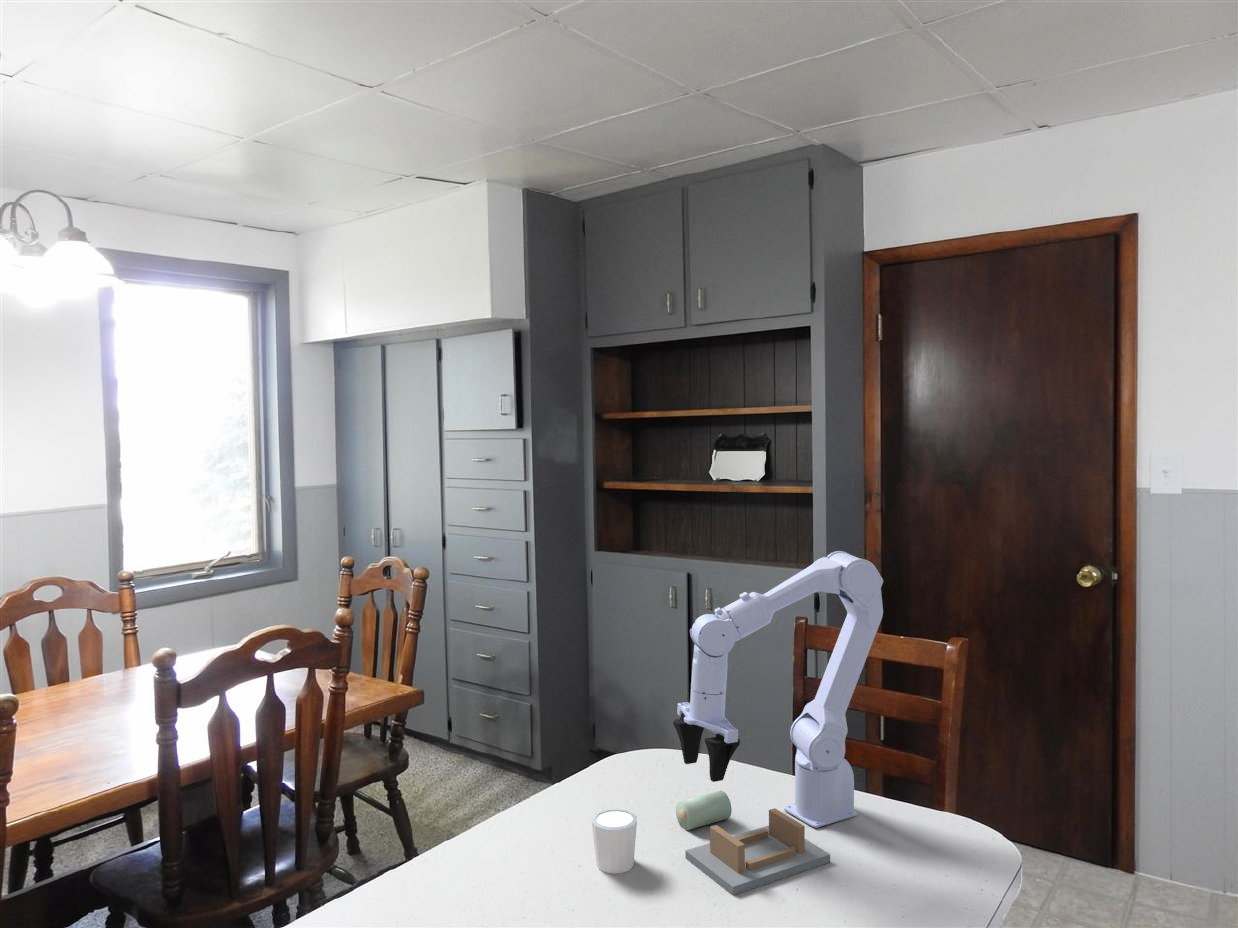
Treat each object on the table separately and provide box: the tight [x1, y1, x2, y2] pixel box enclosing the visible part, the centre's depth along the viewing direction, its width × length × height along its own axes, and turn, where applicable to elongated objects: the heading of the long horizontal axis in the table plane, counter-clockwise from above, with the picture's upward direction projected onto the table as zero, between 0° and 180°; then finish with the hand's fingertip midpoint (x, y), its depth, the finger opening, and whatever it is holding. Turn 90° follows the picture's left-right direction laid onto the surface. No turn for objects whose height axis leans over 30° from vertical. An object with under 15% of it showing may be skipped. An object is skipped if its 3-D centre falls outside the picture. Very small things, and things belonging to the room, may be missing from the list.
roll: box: [675, 790, 733, 831], centre depth 146 cm, size 8×4×4 cm, turn 119°
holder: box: [684, 807, 831, 896], centre depth 133 cm, size 18×12×5 cm, turn 119°
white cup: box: [591, 808, 638, 874], centre depth 133 cm, size 7×7×7 cm
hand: (703, 771), depth 145 cm, fingers open, 7 cm apart
